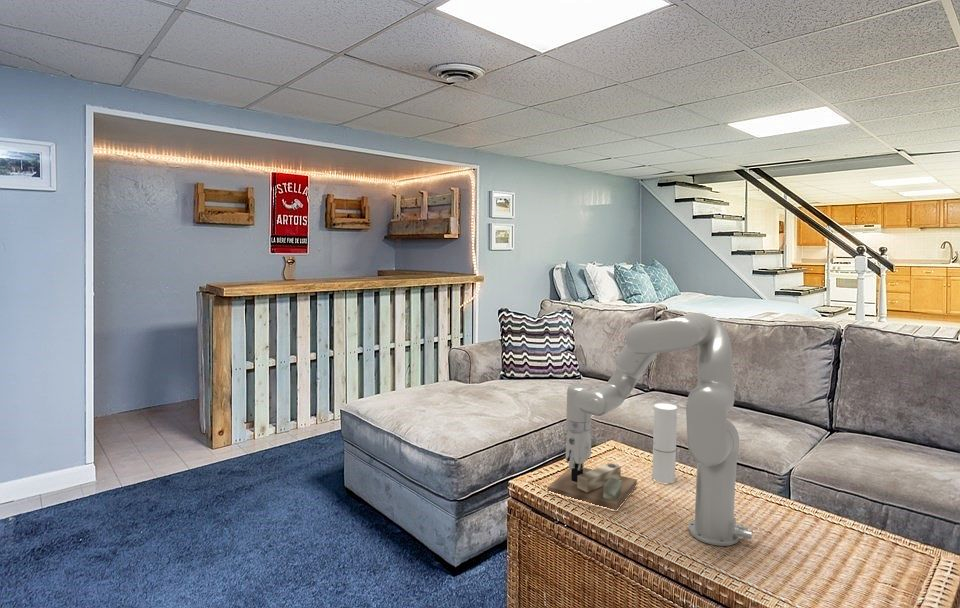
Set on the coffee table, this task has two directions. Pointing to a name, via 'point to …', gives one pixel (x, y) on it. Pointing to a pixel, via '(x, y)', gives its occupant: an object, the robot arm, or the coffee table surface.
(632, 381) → the robot arm
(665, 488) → the coffee table surface
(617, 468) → the folding leg
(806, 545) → the coffee table surface
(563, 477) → the brown board with blocks
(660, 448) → the cylindrical container
